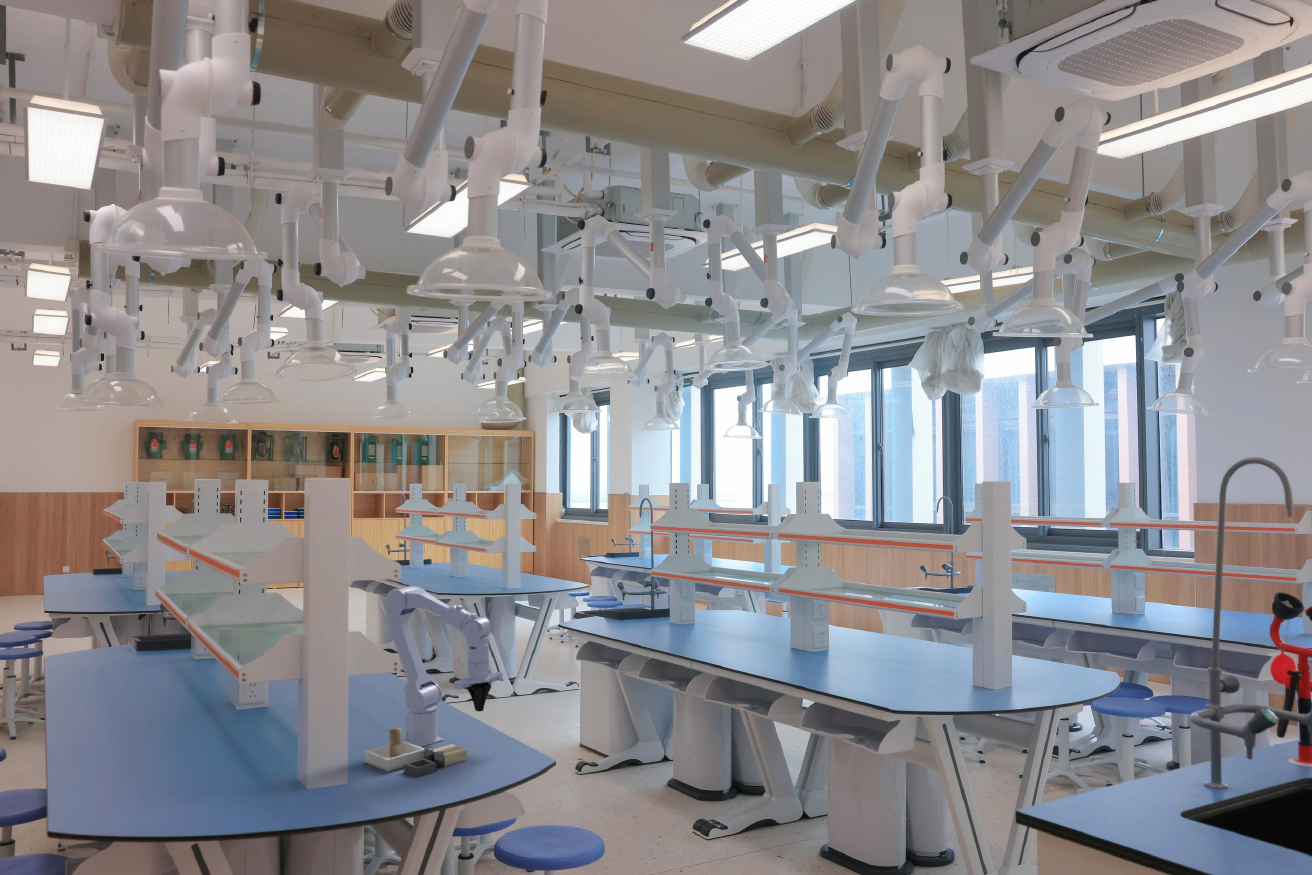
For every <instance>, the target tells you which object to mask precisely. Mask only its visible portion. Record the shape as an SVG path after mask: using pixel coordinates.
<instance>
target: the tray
mask: <svg viewBox="0 0 1312 875" xmlns="http://www.w3.org/2000/svg"><path fill="white" fill-rule="evenodd" d="M425 748H426V747H425ZM425 748H424V747H423V746H422V747H419V746H417V745H414V744H411V743H408V742H406V741H403V740H401V749H402V755H400V756H396V757H393V758H390V743H389V744H385V745H382V746H378V747H375V748H372V749H371V748H370V749H368V750H364V763H366V764H369V766H372V767H375V768H378V769H380V770H382V771H385V772H387V773H388V772H391V771H396V770H399V769H402V768H404V764H405V763H409V762H412V761H416V760H420V759H423V758H424V749H425Z"/></svg>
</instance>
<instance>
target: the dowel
mask: <svg viewBox="0 0 1312 875" xmlns="http://www.w3.org/2000/svg"><path fill="white" fill-rule="evenodd" d="M401 741H402V728H401V727H398V726H396V727H391V728H389V744H390V758H393V757H396V756H400V755H402V749H401Z"/></svg>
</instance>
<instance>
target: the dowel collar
mask: <svg viewBox="0 0 1312 875" xmlns="http://www.w3.org/2000/svg"><path fill="white" fill-rule="evenodd" d="M403 768H404V769H403V770H404V773H407V774H409V775H412V776H414V777H419V776H420V777H421V776H424V775H427V774H429V773H434V772H436V771H437V768H436V763H435V762H433V761H430V760H427V759H425V758H423V759H420V760H416V761H412V762H409V763H405V764H404V767H403Z"/></svg>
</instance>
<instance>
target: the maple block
mask: <svg viewBox="0 0 1312 875" xmlns="http://www.w3.org/2000/svg"><path fill="white" fill-rule="evenodd" d="M439 751H442V752H444V767H446V766H450V765H453V764H457V763H460V762H463V761H466V760H468V748H465V747H462V746H459V745H456V744H453V743H451V744H448V745H444V746H439V747H438V748H433V762H434V753H435V752H439Z"/></svg>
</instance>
